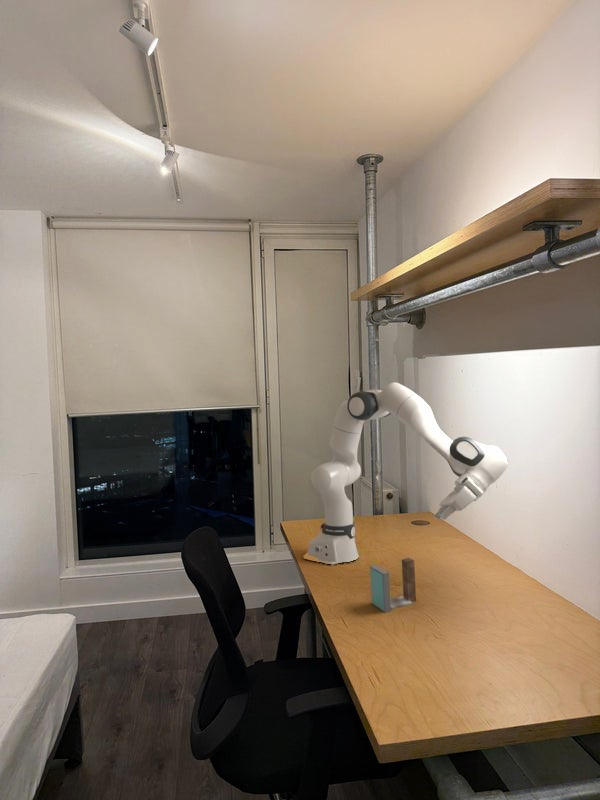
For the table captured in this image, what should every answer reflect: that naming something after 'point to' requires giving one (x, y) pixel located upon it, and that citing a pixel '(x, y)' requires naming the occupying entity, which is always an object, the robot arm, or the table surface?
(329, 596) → the table surface
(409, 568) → the brown and white bookend
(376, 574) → the tile
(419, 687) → the table surface
